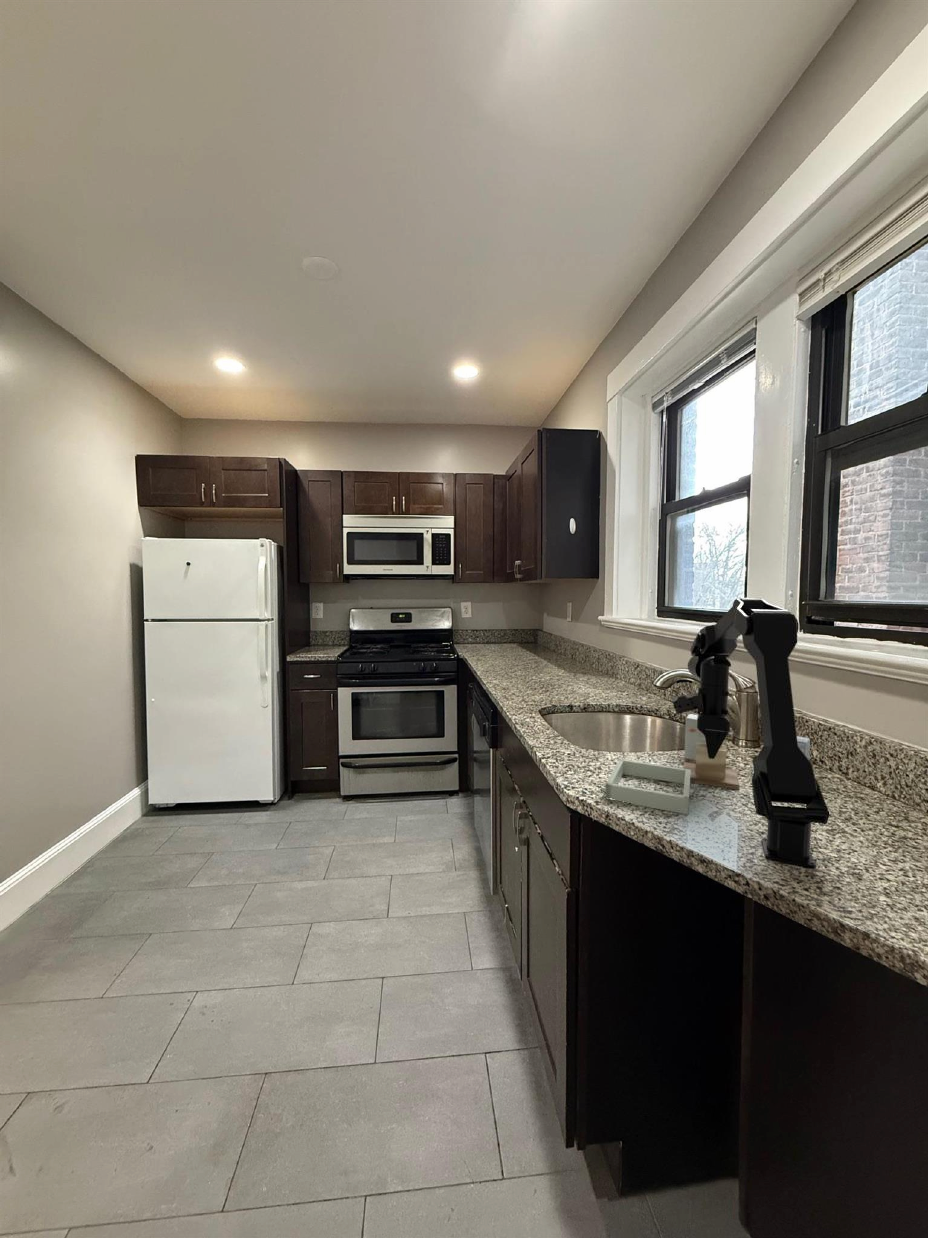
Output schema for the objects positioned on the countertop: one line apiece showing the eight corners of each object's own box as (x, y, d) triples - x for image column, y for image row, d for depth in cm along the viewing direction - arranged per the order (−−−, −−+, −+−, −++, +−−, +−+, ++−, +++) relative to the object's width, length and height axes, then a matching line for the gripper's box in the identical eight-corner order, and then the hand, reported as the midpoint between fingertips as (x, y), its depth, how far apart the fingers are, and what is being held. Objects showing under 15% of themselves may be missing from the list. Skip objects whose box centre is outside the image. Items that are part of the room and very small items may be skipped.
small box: (721, 758, 128) (723, 717, 127) (718, 764, 123) (720, 722, 123) (687, 753, 132) (688, 713, 132) (683, 758, 127) (685, 717, 127)
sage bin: (688, 814, 94) (688, 798, 93) (605, 799, 100) (606, 784, 100) (690, 783, 110) (690, 769, 110) (618, 771, 116) (619, 759, 116)
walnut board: (739, 789, 107) (739, 785, 107) (682, 780, 111) (683, 776, 111) (736, 774, 117) (736, 769, 117) (684, 766, 121) (684, 762, 121)
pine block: (725, 778, 111) (726, 751, 110) (695, 773, 113) (696, 747, 113) (724, 772, 115) (725, 746, 114) (695, 767, 117) (696, 742, 117)
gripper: (677, 675, 125) (674, 738, 126) (673, 687, 108) (670, 758, 109) (727, 679, 120) (724, 744, 121) (731, 692, 103) (728, 767, 104)
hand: (710, 752), depth 114 cm, fingers open, 9 cm apart
